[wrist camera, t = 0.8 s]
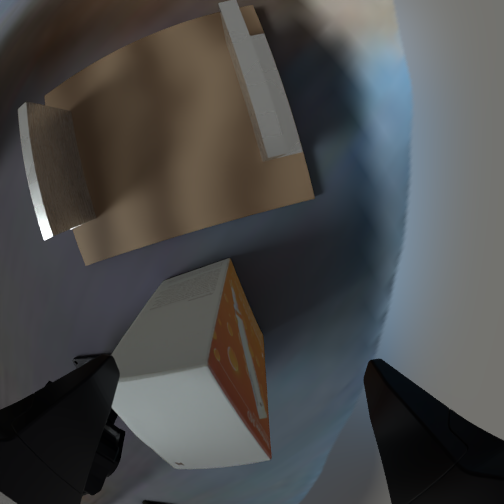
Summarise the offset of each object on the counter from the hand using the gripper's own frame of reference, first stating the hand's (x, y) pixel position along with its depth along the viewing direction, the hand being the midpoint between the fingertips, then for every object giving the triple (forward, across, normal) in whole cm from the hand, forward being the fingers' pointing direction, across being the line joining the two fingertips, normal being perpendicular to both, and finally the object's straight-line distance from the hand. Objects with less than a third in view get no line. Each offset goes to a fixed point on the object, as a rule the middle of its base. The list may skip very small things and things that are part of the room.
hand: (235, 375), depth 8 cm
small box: (+14, +3, +6) cm, 15 cm away
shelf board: (+14, +7, -10) cm, 18 cm away
